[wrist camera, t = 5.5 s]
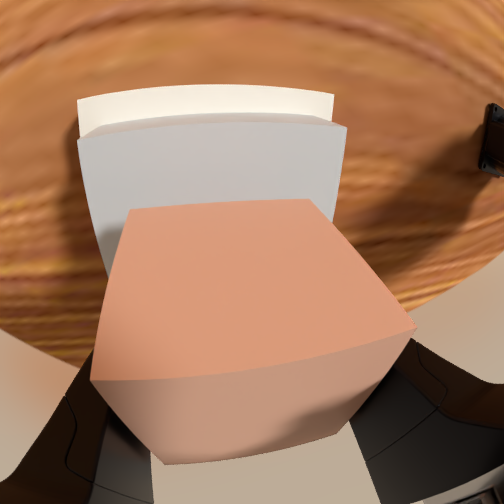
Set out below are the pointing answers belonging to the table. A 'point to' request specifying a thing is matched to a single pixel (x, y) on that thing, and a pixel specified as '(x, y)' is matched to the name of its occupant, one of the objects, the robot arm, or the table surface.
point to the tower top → (206, 164)
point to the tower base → (199, 103)
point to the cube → (240, 329)
